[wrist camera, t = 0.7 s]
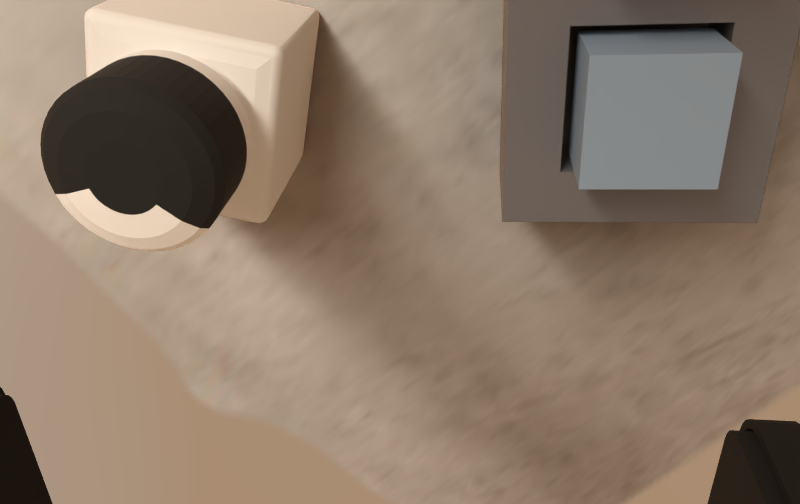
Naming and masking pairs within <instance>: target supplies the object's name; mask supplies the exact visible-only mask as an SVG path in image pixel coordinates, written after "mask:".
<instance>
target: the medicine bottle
mask: <svg viewBox="0 0 800 504" xmlns="http://www.w3.org/2000/svg"><path fill="white" fill-rule="evenodd" d="M84 22H85V47H86V72H87V78H86V79H84V80H83V81H81V82H79V83H78V84H76V85H75V86H73V87H71V88H70V89H69V90H67V91H66V92H64V93H63V94H62V95H61V96H60V97H59V98H58V99H57V100H56V101H55V102H54V104H53V105H52V107H51V108H50V110H49V112H48V114H47V116H46V118H45V121H44V124H43V128H42V132H41V157H42V161H43V166H44V170H45V172H46V175H47V178H48V181H49V182H50V184H51V186H52V188H53V190H54V192H55V194H56V196H57V197H58V199H59V200H60V202H61V203H62V204H63V206H64V207H65V208H66V209H67V210H68V212H69V213H70V214H71V215H72V216H73V217H74V218H75V219H76V220H77V221H78V222H79V223H81V224H82V225H83V226H85V227H86V228H87V229H88V230H90V231H92V232H93V233H95V234H96V235H98V236H100V237H102V238H104V239H106V240H108V241H110V242H112V243H115V244H118V245H121V246H123V247H127V248H131V249H136V250H143V251H164V250H171V249H175V248H178V247H182V246H184V245H186V244H189V243H191V242H193V241H194V240H196V239H197V238H199V237H200V236H202V235H203V234H204V233H205V232H206V231H207V230H208V229H209V228H210V227H211V225H212V224H213V223H214V221H215V220H216V218H217V217H218V216H219V215H221V216H225V217H230V218H235V219H240V220H245V221H250V222H255V223H263V222H264V221H266V220H267V219H268V217H269V216H270V214H271V212H272V210H273V208H274V207H275V205H276V203H277V201H278V199H279V198H280V196H281V194H282V192H283V190H284V189H285V187H286V185H287V183H288V181H289V180H290V178H291V176H292V174H293V173H294V171H295V169H296V167H297V165H298V164H299V162H300V160H301V158H302V156H303V150H304V142H305V134H306V125H307V117H308V109H309V100H310V92H311V84H312V76H313V67H314V59H315V51H316V42H317V34H318V26H319V13H318V12H317V10H316V9H314V8H311V7H307V6H302V5H297V4H292V3H287V2H282V1H278V0H108V1H105V2H103V3H101V4H99V5H96V6H94V7H92V8H90V9H89V10H88V11H87V12H86V13H85V17H84Z"/></svg>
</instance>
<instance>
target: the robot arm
mask: <svg viewBox="0 0 800 504" xmlns="http://www.w3.org/2000/svg"><path fill="white" fill-rule="evenodd" d="M0 504H52V501H51V498H50V496H49V493H48V490H47V488H46V485H45V482H44V480H43V477H42V474H41V472H40V469H39V466H38V464H37V461H36V458H35V455H34V453H33V450H32V447H31V445H30V442H29V439H28V437H27V434H26V431H25V429H24V426H23V423H22V421H21V418H20V415H19V413H18V410H17V407H16V405H15V402H14V400H13V399H12V398H11V397H10V396H9V395H5V393H4V392H3V390H2V388H1V387H0ZM708 504H800V424H799V423H797V422H794V421H774V420H754V419H748V420H745V421H744V422H743V424H742V426H741V429H740V431H734V430H732V431H729V432H728V433H727V435H726V437H725V440H724V444H723V448H722V452H721V455H720V459H719V463H718V467H717V471H716V474H715V478H714V482H713V485H712V489H711V493H710V497H709V501H708Z"/></svg>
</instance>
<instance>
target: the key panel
mask: <svg viewBox="0 0 800 504" xmlns="http://www.w3.org/2000/svg"><path fill="white" fill-rule="evenodd" d="M684 28H714V29H715V30H716V31H717V32H719V33H720V34H721V35H722V36H723V37H725V38H726V39H727V40H728V41H729V42H731V43H732V44H733V45H734V46H735V47H737V48H738V49H739V50H740V51H741V52H743V55H742V61H741V66H740V72H739V77H738V82H737V88H736V93H735V99H734V104H733V109H732V115H731V120H730V126H729V131H728V136H727V142H726V147H725V152H724V158H723V163H722V169H721V174H720V179H719V185H718V189H578V185H577V181H576V178H575V174H574V170H573V167H572V163H571V159H570V156H569V142H570V129H571V115H572V102H573V88H574V74H575V61H576V47H577V34H578V31H594V30H639V29H684ZM799 31H800V0H504V19H503V60H502V100H501V141H500V188H501V207H502V222H669V223H757V222H758V217H759V213H760V208H761V204H762V199H763V195H764V190H765V186H766V181H767V176H768V172H769V167H770V163H771V158H772V154H773V149H774V145H775V140H776V136H777V131H778V126H779V122H780V117H781V113H782V108H783V104H784V99H785V95H786V90H787V86H788V81H789V77H790V72H791V67H792V63H793V58H794V54H795V49H796V45H797V40H798V36H799Z"/></svg>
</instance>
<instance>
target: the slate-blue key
mask: <svg viewBox="0 0 800 504" xmlns="http://www.w3.org/2000/svg"><path fill="white" fill-rule="evenodd" d="M742 55H743V52H741V51H740V50H739V49H738V48H737V47H735V46H734V45H733V44H732V43H731V42H729V41H728V40H727V39H726V38H725V37H723V36H722V35H721V34H720V33H719V32H717V31H716V30H715V29H714V28H684V29H639V30H594V31H578V34H577V47H576V61H575V74H574V88H573V102H572V115H571V129H570V142H569V156H570V159H571V163H572V167H573V170H574V174H575V178H576V181H577V185H578V189H718V185H719V179H720V174H721V169H722V163H723V158H724V152H725V147H726V142H727V136H728V131H729V126H730V120H731V115H732V109H733V104H734V99H735V93H736V88H737V82H738V77H739V72H740V66H741V61H742Z"/></svg>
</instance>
